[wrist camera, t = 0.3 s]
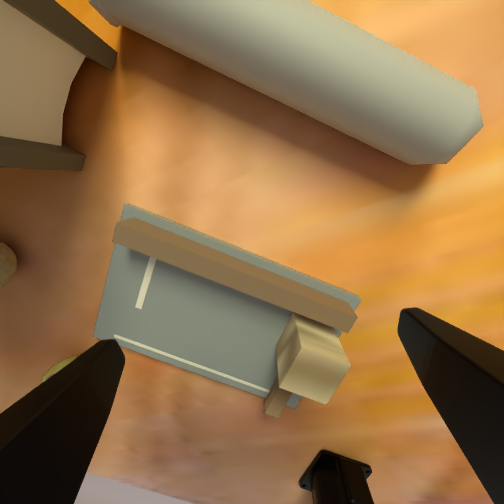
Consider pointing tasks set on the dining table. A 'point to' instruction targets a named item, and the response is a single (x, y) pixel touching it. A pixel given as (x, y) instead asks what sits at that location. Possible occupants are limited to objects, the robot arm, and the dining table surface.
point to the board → (208, 302)
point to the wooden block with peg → (306, 364)
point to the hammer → (7, 263)
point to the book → (41, 81)
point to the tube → (317, 69)
